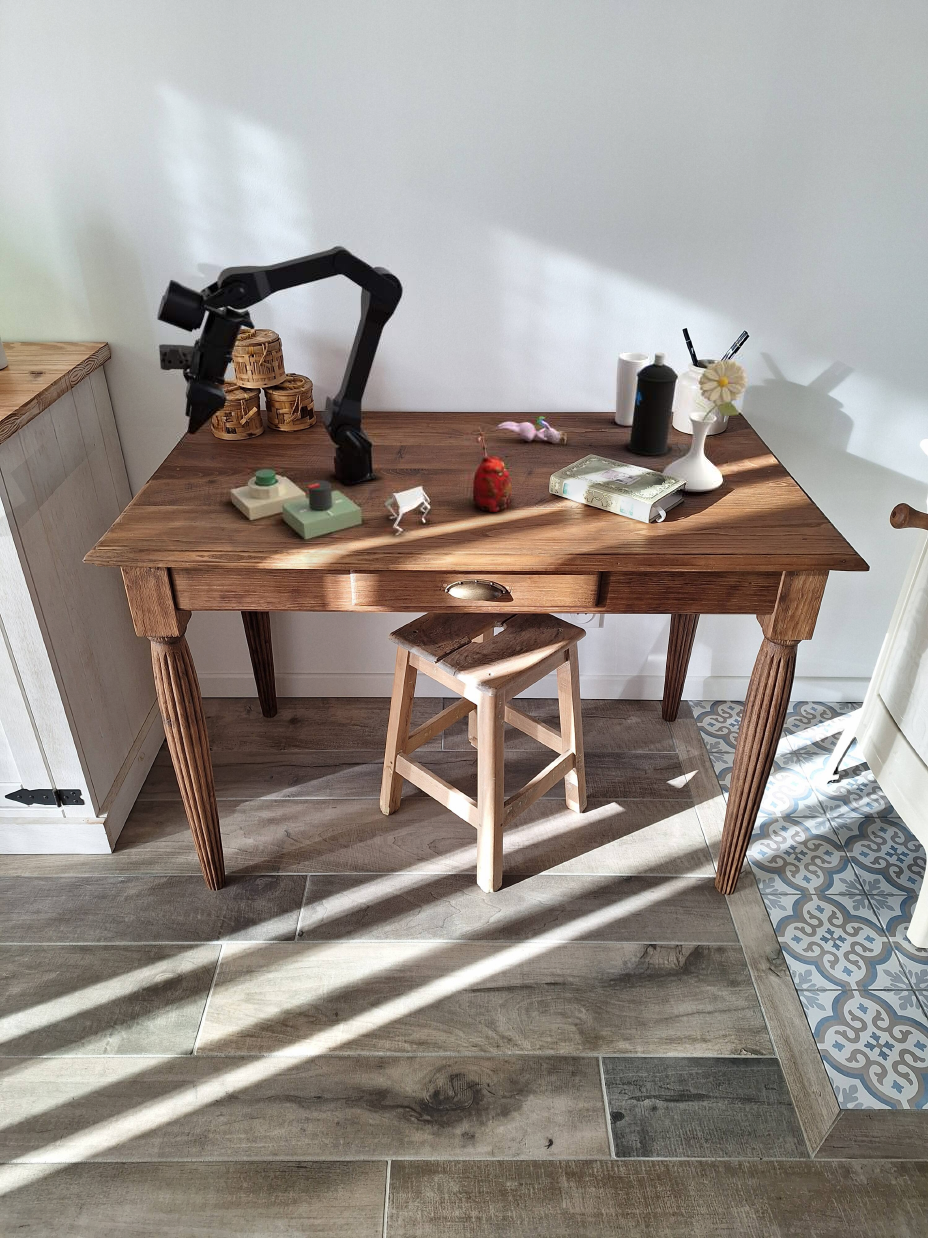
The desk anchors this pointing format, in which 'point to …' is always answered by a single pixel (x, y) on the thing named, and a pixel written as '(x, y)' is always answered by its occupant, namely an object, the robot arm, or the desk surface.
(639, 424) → the aerosol can
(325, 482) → the dial
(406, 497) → the white block with legs
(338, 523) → the console
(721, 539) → the desk surface
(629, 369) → the white cylindrical vase
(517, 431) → the rabbit figure
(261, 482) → the green button cap
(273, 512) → the button base
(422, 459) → the desk surface
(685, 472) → the flower in vase
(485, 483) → the red clay folk toy
